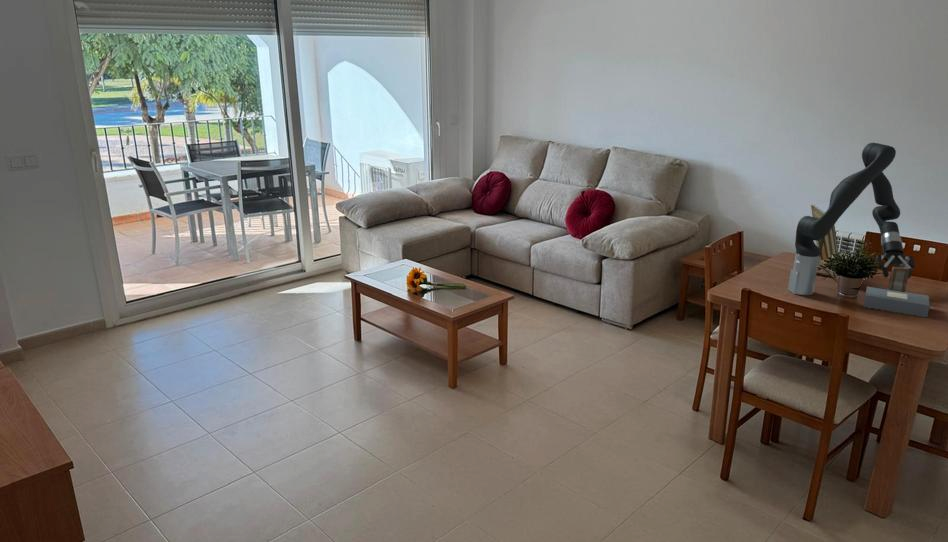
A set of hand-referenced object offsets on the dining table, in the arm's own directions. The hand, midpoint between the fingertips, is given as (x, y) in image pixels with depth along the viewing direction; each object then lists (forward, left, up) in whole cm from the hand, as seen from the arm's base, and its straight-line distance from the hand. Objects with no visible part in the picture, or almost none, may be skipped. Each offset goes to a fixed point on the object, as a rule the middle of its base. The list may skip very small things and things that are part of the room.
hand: (897, 277), depth 288 cm
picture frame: (-16, +32, -9) cm, 37 cm away
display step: (-8, -14, -9) cm, 18 cm away
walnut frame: (0, -1, -9) cm, 9 cm away
